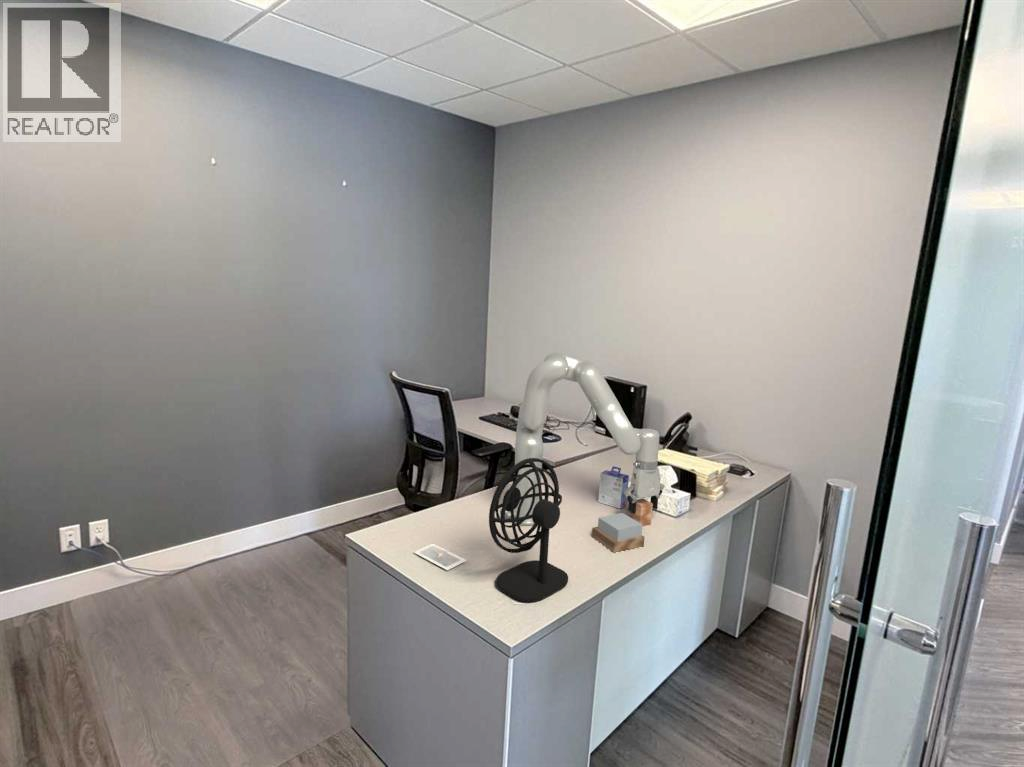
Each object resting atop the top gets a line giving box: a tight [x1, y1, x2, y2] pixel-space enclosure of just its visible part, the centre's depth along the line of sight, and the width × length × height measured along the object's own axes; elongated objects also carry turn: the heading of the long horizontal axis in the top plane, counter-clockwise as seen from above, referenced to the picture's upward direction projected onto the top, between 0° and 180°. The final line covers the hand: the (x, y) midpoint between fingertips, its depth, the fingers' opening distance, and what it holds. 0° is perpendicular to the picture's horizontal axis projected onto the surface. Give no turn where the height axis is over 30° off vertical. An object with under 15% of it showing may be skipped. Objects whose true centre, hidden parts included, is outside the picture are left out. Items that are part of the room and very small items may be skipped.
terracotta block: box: [630, 498, 653, 527], centre depth 192 cm, size 5×5×8 cm
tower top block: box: [597, 512, 643, 542], centre depth 176 cm, size 10×10×4 cm
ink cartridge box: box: [597, 466, 630, 509], centre depth 207 cm, size 10×6×14 cm, turn 53°
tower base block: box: [591, 526, 645, 554], centre depth 177 cm, size 12×12×4 cm
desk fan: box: [488, 458, 569, 603], centre depth 148 cm, size 27×18×35 cm, turn 135°
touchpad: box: [413, 543, 467, 571], centre depth 162 cm, size 8×15×2 cm, turn 50°
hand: (642, 510), depth 192 cm, fingers open, 9 cm apart
